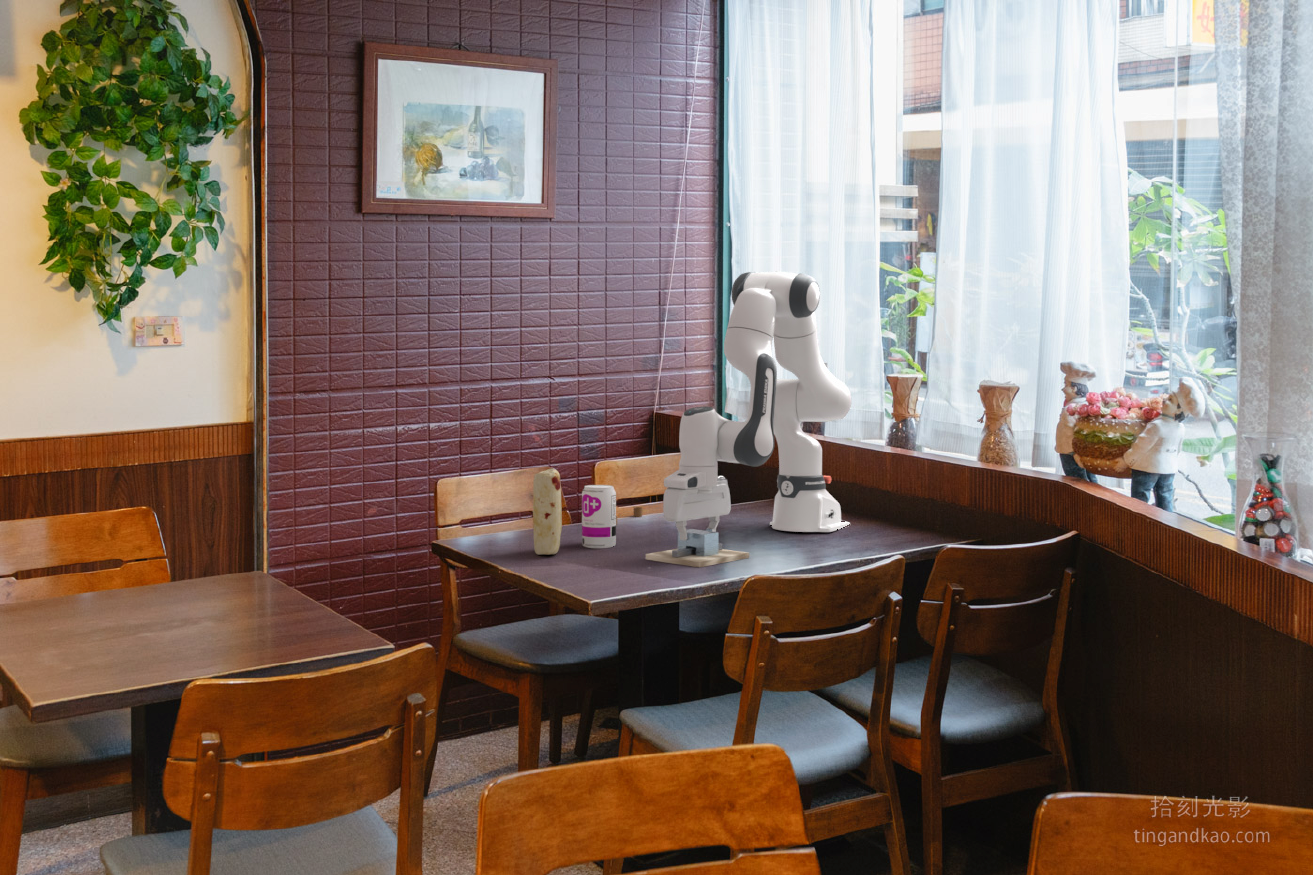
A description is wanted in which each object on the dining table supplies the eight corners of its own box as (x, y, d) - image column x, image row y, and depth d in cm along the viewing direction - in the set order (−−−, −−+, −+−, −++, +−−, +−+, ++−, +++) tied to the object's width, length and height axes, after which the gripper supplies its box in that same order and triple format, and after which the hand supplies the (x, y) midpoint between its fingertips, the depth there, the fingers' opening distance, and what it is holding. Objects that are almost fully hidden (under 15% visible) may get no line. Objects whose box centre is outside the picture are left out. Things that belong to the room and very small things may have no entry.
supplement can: (599, 551, 285) (599, 488, 284) (575, 547, 290) (575, 486, 289) (622, 547, 291) (622, 486, 290) (598, 544, 296) (598, 483, 295)
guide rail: (717, 549, 281) (717, 542, 281) (722, 549, 280) (722, 543, 280) (672, 557, 269) (672, 550, 269) (677, 557, 268) (677, 551, 268)
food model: (564, 556, 277) (564, 470, 276) (535, 557, 275) (535, 471, 274) (559, 550, 286) (559, 467, 285) (531, 551, 285) (531, 467, 284)
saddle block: (691, 550, 279) (691, 529, 279) (718, 554, 274) (718, 532, 274) (677, 552, 276) (677, 531, 275) (704, 556, 270) (704, 534, 270)
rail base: (696, 550, 287) (696, 545, 287) (749, 557, 276) (749, 552, 276) (645, 559, 274) (645, 554, 273) (699, 567, 263) (699, 562, 263)
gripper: (716, 473, 284) (716, 531, 284) (658, 480, 268) (658, 541, 269) (737, 475, 279) (736, 534, 280) (679, 481, 264) (679, 544, 265)
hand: (697, 537), depth 275 cm, fingers open, 8 cm apart
